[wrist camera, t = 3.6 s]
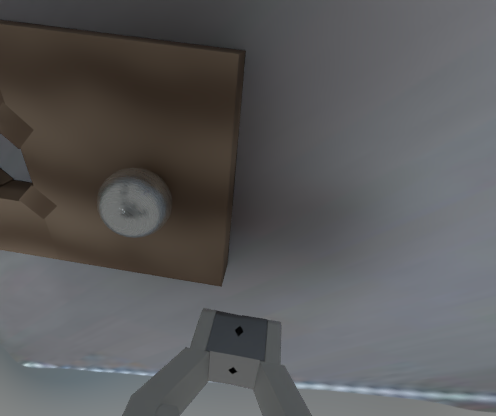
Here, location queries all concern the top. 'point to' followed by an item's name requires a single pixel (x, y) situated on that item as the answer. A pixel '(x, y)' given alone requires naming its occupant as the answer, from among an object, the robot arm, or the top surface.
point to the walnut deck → (119, 145)
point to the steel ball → (134, 202)
